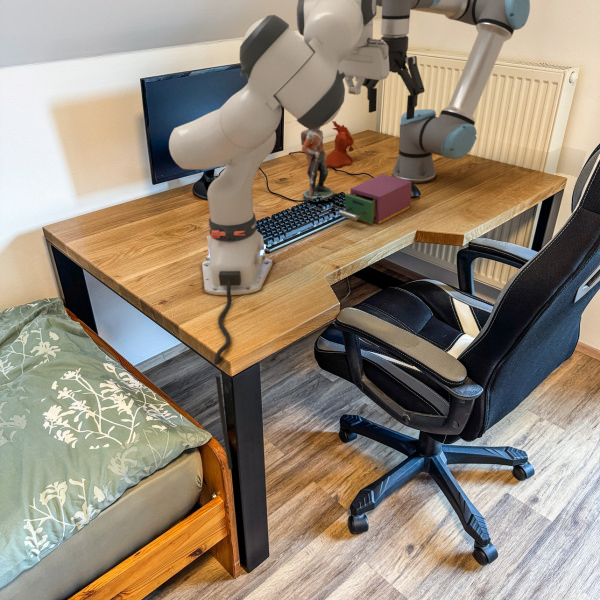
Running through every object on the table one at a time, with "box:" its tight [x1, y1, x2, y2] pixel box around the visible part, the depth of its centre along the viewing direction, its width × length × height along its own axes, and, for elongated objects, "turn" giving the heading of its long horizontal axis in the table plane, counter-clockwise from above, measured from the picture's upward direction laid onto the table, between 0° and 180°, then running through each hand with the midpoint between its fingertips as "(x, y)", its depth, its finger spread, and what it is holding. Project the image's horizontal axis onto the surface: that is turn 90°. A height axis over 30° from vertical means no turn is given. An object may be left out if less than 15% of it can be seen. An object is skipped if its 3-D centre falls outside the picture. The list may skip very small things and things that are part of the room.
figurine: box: [300, 127, 335, 202], centre depth 181 cm, size 11×11×30 cm
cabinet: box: [349, 173, 413, 225], centre depth 176 cm, size 16×11×9 cm
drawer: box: [337, 193, 377, 224], centre depth 172 cm, size 20×10×7 cm, turn 136°
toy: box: [325, 120, 355, 169], centre depth 216 cm, size 13×18×15 cm
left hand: (354, 93), depth 150 cm, fingers closed
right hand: (390, 115), depth 165 cm, fingers open, 13 cm apart
